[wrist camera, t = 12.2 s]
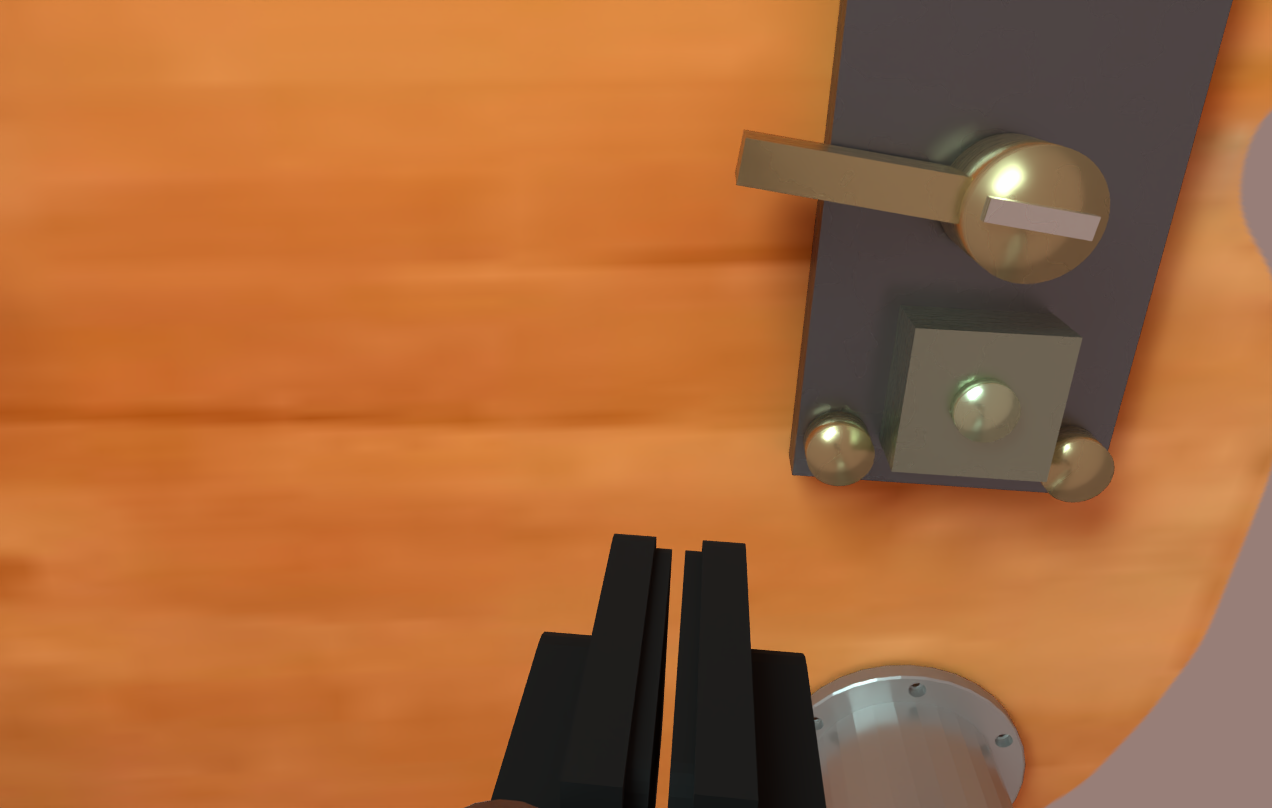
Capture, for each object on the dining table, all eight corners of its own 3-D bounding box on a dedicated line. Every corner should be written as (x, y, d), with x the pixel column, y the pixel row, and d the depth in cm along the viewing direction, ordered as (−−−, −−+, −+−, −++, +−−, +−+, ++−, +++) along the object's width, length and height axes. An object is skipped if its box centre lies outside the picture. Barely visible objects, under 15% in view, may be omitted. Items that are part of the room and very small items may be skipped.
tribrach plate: (1077, 474, 39) (1132, 540, 34) (788, 454, 40) (799, 516, 34) (1224, -79, 30) (1327, -105, 25) (850, -88, 31) (876, -114, 26)
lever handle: (1084, 144, 31) (1139, 160, 27) (1040, 266, 33) (1086, 298, 29) (752, 87, 31) (756, 93, 27) (727, 210, 33) (728, 234, 29)
